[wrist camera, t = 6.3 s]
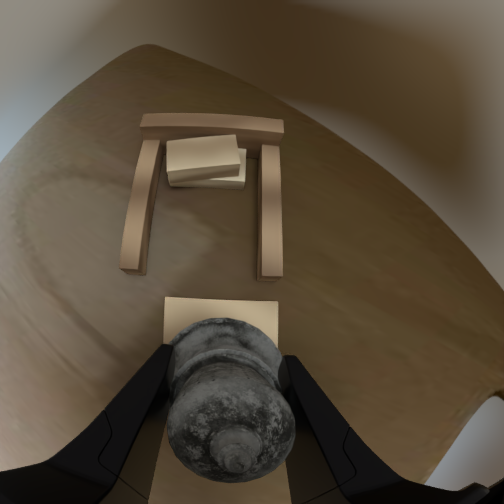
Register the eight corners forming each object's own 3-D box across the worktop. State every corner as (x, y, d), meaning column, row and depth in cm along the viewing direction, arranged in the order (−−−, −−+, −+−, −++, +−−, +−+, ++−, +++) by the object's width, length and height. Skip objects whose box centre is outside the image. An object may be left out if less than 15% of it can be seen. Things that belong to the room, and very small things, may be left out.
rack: (275, 281, 23) (289, 271, 19) (127, 274, 22) (109, 262, 17) (273, 147, 27) (283, 120, 23) (151, 142, 25) (143, 113, 21)
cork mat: (274, 406, 20) (276, 408, 19) (165, 403, 19) (163, 406, 18) (276, 302, 23) (278, 301, 22) (166, 297, 22) (165, 296, 21)
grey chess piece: (174, 314, 15) (74, 269, 4) (274, 323, 16) (409, 300, 4) (167, 410, 14) (91, 538, 2) (267, 417, 14) (363, 544, 3)
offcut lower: (242, 192, 25) (245, 181, 24) (170, 188, 25) (167, 177, 23) (244, 160, 26) (246, 148, 24) (176, 157, 26) (174, 145, 24)
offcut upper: (238, 176, 24) (240, 163, 22) (170, 183, 23) (166, 171, 21) (233, 147, 24) (235, 134, 22) (169, 154, 23) (166, 141, 21)
